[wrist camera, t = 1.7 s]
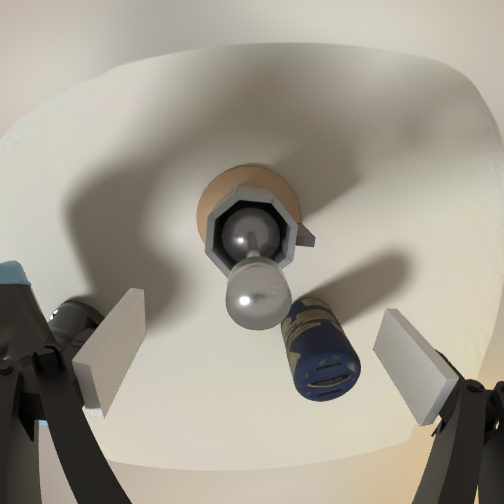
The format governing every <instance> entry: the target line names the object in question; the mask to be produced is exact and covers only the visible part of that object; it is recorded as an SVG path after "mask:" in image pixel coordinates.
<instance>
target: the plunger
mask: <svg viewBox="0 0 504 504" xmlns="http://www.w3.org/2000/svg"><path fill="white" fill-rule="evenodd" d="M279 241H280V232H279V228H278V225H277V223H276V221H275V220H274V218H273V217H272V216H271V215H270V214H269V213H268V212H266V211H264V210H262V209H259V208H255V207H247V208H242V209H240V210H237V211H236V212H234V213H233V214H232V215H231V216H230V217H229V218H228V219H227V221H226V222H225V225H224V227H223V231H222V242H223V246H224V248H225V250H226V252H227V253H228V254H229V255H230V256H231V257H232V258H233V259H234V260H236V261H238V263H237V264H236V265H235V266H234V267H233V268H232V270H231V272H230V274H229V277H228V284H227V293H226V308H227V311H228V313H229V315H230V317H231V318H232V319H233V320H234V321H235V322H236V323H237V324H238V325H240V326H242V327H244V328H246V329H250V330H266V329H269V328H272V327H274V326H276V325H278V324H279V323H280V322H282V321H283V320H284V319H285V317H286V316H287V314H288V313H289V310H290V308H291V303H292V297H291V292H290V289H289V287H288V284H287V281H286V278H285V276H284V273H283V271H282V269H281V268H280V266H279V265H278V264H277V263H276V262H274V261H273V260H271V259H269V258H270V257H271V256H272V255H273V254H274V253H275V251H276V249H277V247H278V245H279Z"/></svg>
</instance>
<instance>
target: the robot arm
mask: <svg viewBox="0 0 504 504" xmlns="http://www.w3.org/2000/svg"><path fill="white" fill-rule="evenodd" d="M145 336H146V322H145V302H144V289H137V288H130V289H129V290H128V291H127V292H126V294H125V295H124V296H123V297H122V298H121V300H120V301H119V302H118V303H117V304H116V306H115V307H114V308H113V309H112V310H111V312H110V313H109V314H108V315H107V316H106V318H105V319H104V318H103V317H102V316H101V315H100V314H99V313H98V312H97V311H96V310H94V309H93V308H91V307H90V306H88V305H86V304H83V303H80V302H74V301H71V302H66V303H63V304H62V305H60V306H59V307H58V308H57V309H56V310H55V311H54V312H53V313H52V315H51V317H50V319H49V322H48V323H47V321H46V319H45V317H44V315H43V313H42V311H41V309H40V306H39V304H38V302H37V300H36V297H35V295H34V293H33V290H32V288H31V283H30V282H29V281H28V279H27V277H26V274H25V272H24V270H23V267H22V266H21V264H20V263H18V262H17V261H7V262H4V263H0V504H42V501H41V490H40V477H39V451H38V432H39V424H41V425H45V426H49V430H50V433H51V437H52V440H53V443H54V446H55V449H56V451H57V454H58V457H59V460H60V463H61V465H62V468H63V470H64V473H65V475H66V478H67V480H68V483H69V485H70V487H71V490H72V492H73V494H74V496H75V498H76V500H77V502H78V504H132V503H131V501H130V500H129V498H128V497H127V495H126V493H125V492H124V490H123V489H122V487H121V485H120V484H119V482H118V480H117V479H116V477H115V475H114V473H113V472H112V470H111V468H110V466H109V465H108V463H107V461H106V459H105V457H104V455H103V453H102V451H101V449H100V447H99V445H98V443H97V441H96V439H95V437H94V435H93V433H92V431H91V429H90V426H89V424H88V422H87V420H86V417H85V415H84V413H83V410H82V408H83V406H84V405H85V408H86V411H87V414H89V415H93V416H96V417H100V418H105V416H106V414H107V412H108V410H109V408H110V406H111V404H112V402H113V399H114V397H115V395H116V393H117V391H118V389H119V387H120V385H121V383H122V381H123V379H124V377H125V375H126V373H127V371H128V369H129V367H130V365H131V363H132V361H133V359H134V357H135V355H136V353H137V351H138V349H139V347H140V346H141V344H142V342H143V340H144V338H145ZM373 350H374V352H375V353H376V355H377V357H378V358H379V360H380V361H381V363H382V365H383V366H384V368H385V369H386V371H387V373H388V374H389V376H390V377H391V379H392V381H393V382H394V384H395V386H396V387H397V389H398V390H399V392H400V394H401V395H402V397H403V399H404V400H405V402H406V404H407V405H408V407H409V409H410V410H411V412H412V414H413V416H414V417H415V419H416V421H417V422H418V424H419V426H425V425H430V424H433V422H434V421H435V419H436V418H437V416H438V414H439V415H440V417H441V418H442V420H441V421H440V423H439V425H438V426H437V428H436V429H435V431H434V432H433V434H432V435H431V436H432V437H433V436H434V434H436V436H435V440H434V443H433V446H432V449H431V453H430V456H429V459H428V462H427V465H426V468H425V471H424V474H423V476H422V480H421V482H420V485H419V487H418V490H417V492H416V495H415V497H414V500H413V502H412V504H474V500H475V496H476V490H477V486H478V496H479V504H504V381H500V382H497V384H496V386H495V388H494V389H493V390H485V388H484V386H483V385H482V384H481V383H480V382H478V381H476V380H472V379H468V380H465V379H464V377H463V376H462V375H461V374H460V373H459V372H458V371H457V369H456V368H455V367H454V366H452V364H451V363H450V362H449V361H448V359H447V358H446V357H445V356H444V355H443V354H442V353H440V352H439V351H437V350H436V349H434V348H433V347H432V346H431V345H430V344H429V343H428V342H427V340H426V339H425V338H424V337H423V336H422V335H421V334H420V333H419V332H418V331H417V330H416V329H415V327H414V326H413V325H412V324H411V323H410V322H409V321H408V320H407V319H406V318H405V317H404V316H403V315H402V314H401V313H400V312H399V311H398V309H385V313H384V316H383V320H382V323H381V326H380V329H379V332H378V335H377V339H376V342H375V345H374V348H373ZM498 422H499V425H498V428H497V429H496V425H497V423H498Z"/></svg>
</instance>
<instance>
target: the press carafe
mask: <svg viewBox="0 0 504 504" xmlns="http://www.w3.org/2000/svg"><path fill="white" fill-rule="evenodd" d="M247 207H255V208H259V209H262V210H264V211H266V212H268V213H269V214H270V215H271V216H272V217H273V218H274V220H275V221H276V223H277V225H278V228H279V232H280V241H279V245H278V247H277V249H276V251H275V253H274V254H273V255H272V256H271V257H270V258H269V259H271V260H273V261H274V262H276V263H277V264H278V265H279V266H280V268H281V269H283V268H284V267H286V266H287V265H288V264H290V263H291V262H292V260H293V258H294V251H295V245H297V246H307V247H314V244H315V236H314V235H313V234H312V233H311V232H310V231H309V230H308V229H307V228H306V227H305V226H304V225H303V224H302V223H300V208H299V203H298V200H297V198H296V195H295V193H294V192H293V190H292V189H291V187H290V186H289V185H288V183H287V182H286V181H285V180H284V179H282V178H281V177H280V176H278V175H277V174H275V173H274V172H272V171H269V170H267V169H264V168H260V167H254V166H244V167H238V168H233V169H231V170H228V171H226V172H224V173H222V174H220V175H219V176H218V177H216V178H215V179H214V180H213V181H212V182H211V183H210V184H209V185H208V186H207V188H206V189H205V191H204V192H203V194H202V196H201V198H200V201H199V204H198V209H197V226H198V230H199V234H200V236H201V239H202V241H203V242H204V244H205V252H206V255H207V256H208V257H209V258H210V259H211V260H212V261H213V262H214V264H215V265H216V266H217V267H218V268H219V269H220V270H221V271H222V273H223V274H224V275H225V276H226V277H227V278H228V277H229V274H230V272H231V270H232V268H233V267H234V266H235V265H236V264H237V263H238V261H236V260H234V259H233V258H232V257H231V256H230V255H229V254H228V253H227V252H226V250H225V248H224V246H223V242H222V231H223V227H224V225H225V222H226V221H227V219H228V218H229V217H230V216H231V215H232V214H233V213H234V212H236V211H237V210H240V209H242V208H247Z"/></svg>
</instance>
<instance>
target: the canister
mask: <svg viewBox="0 0 504 504" xmlns="http://www.w3.org/2000/svg"><path fill="white" fill-rule="evenodd" d="M281 331H282V335H283V339H284V344H285V347H286V353H287V358H288V361H289V366H290V370H291V374H292V377H293V381H294V384H295V387H296V389H297V391H298V392H299V393H300V394H301V395H302V396H303V397H305V398H307V399H309V400H312V401H318V402H322V401H329V400H332V399H335V398H338V397H340V396H342V395H343V394H345V393H346V392H348V391H349V390H350V389H351V388H352V387H353V386H354V385H355V383H356V382H357V380H358V378H359V376H360V372H361V364H360V360H359V357H358V355H357V354H356V352H355V350H354V349H353V347H352V345H351V344H350V342H349V340H348V339H347V337H346V335H345V333H344V331H343V329H342V327H341V325H340V324H339V322H338V320H337V319H336V317H335V316H334V314H333V313H332V311H331V309H330V308H329V307H328V306H327V305H326V304H325V303H323V302H321V301H319V300H316V299H304V300H301V301H298V302H296V303H294V304H293V305H291V308H290V310H289V313H288V314H287V316H286V317H285V319H284V320H283V321H282V322H281Z"/></svg>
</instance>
